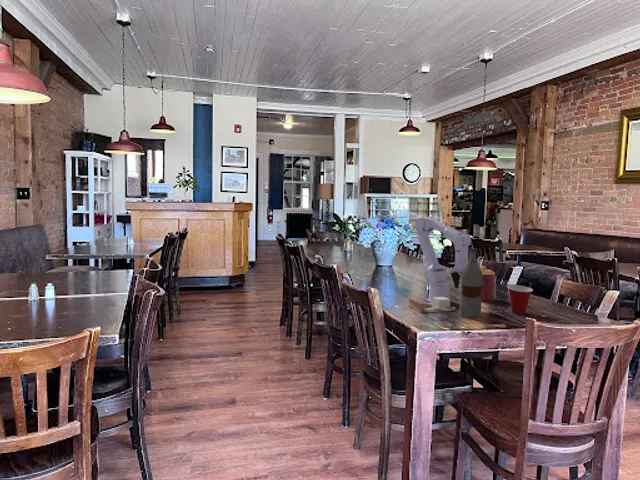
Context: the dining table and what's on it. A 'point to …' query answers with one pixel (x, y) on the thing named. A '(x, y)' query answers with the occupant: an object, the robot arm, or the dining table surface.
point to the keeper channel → (420, 306)
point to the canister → (488, 285)
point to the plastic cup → (519, 298)
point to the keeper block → (440, 302)
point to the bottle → (471, 288)
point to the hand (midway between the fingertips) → (460, 287)
